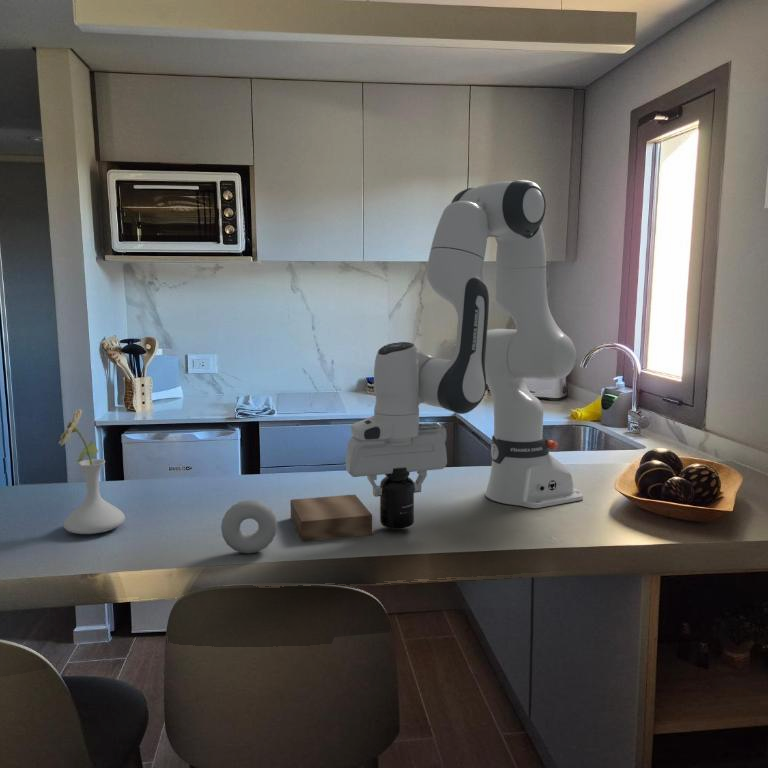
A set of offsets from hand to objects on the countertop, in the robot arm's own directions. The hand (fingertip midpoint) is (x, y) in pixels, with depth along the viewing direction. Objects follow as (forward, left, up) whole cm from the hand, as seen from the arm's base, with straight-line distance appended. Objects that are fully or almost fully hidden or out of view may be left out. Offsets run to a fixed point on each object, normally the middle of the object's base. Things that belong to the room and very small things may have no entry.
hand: (397, 493), depth 134 cm
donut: (+30, +4, -8) cm, 31 cm away
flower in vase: (+59, -16, -8) cm, 61 cm away
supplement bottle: (0, 0, -6) cm, 6 cm away
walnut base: (+13, -6, -8) cm, 16 cm away
